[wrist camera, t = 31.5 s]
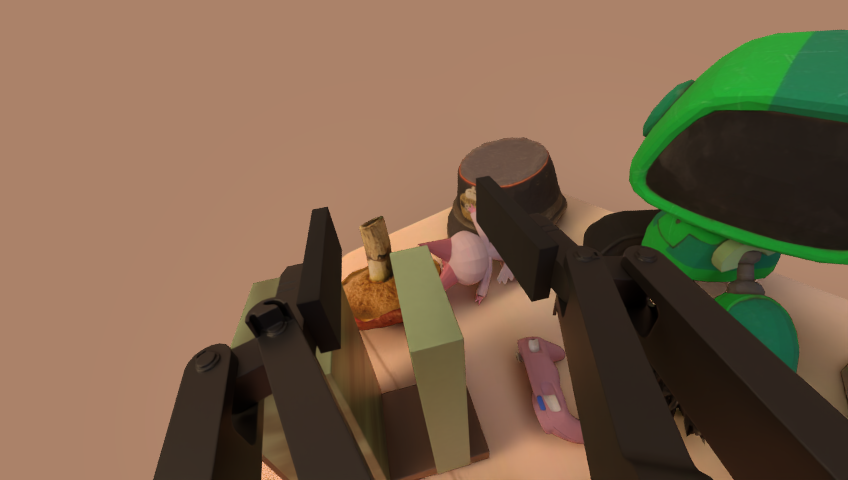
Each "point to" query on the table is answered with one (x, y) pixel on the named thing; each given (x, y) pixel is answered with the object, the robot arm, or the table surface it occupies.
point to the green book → (434, 355)
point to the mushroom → (375, 281)
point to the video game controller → (548, 388)
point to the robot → (746, 175)
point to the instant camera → (845, 379)
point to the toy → (468, 259)
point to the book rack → (361, 407)
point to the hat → (508, 180)
